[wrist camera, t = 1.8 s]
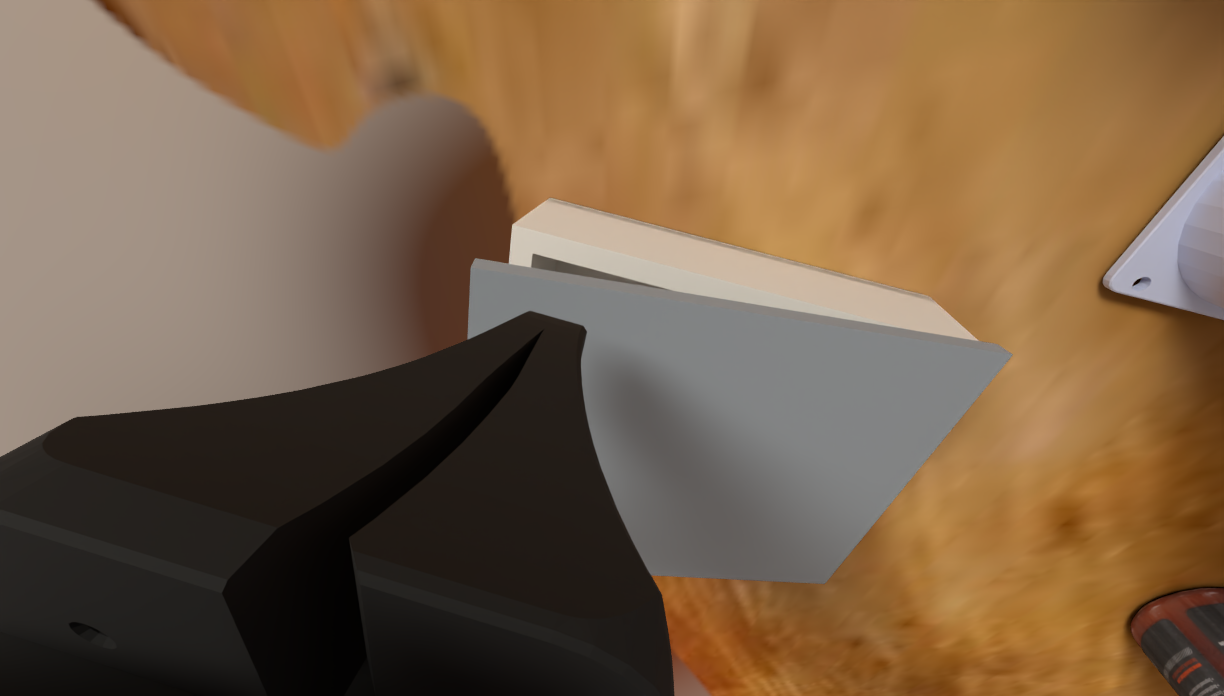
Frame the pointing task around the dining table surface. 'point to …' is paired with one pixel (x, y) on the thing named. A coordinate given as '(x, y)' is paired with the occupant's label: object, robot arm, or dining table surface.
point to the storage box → (710, 269)
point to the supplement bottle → (1185, 639)
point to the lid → (745, 417)
